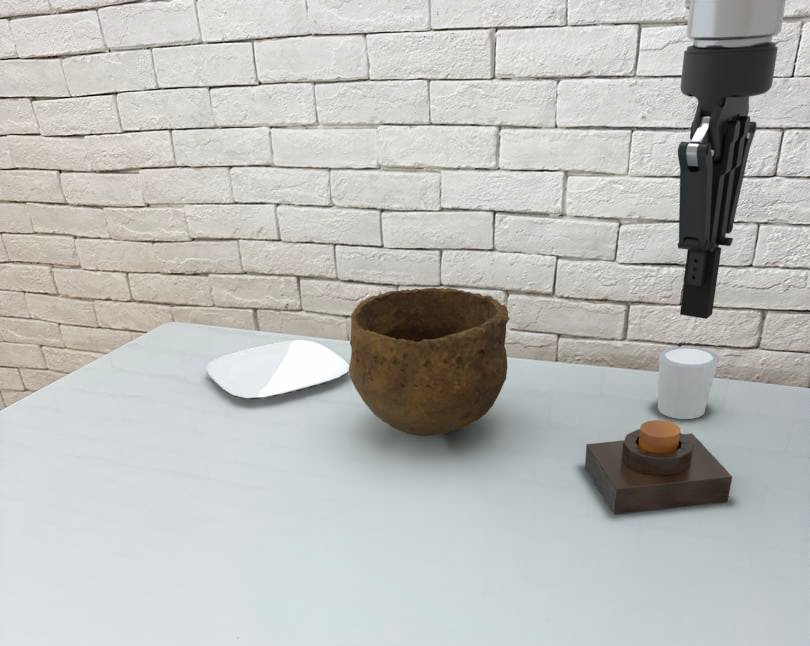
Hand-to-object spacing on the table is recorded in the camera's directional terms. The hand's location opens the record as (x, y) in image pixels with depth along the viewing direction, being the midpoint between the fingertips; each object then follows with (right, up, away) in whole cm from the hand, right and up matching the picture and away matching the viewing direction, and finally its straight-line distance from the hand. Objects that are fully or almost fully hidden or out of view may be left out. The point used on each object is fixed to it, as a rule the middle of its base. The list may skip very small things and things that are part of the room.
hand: (696, 314), depth 85 cm
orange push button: (-3, -13, +4) cm, 14 cm away
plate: (-47, +1, +36) cm, 60 cm away
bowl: (-26, -9, +20) cm, 34 cm away
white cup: (+5, -6, +21) cm, 23 cm away
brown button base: (-3, -17, +6) cm, 18 cm away
